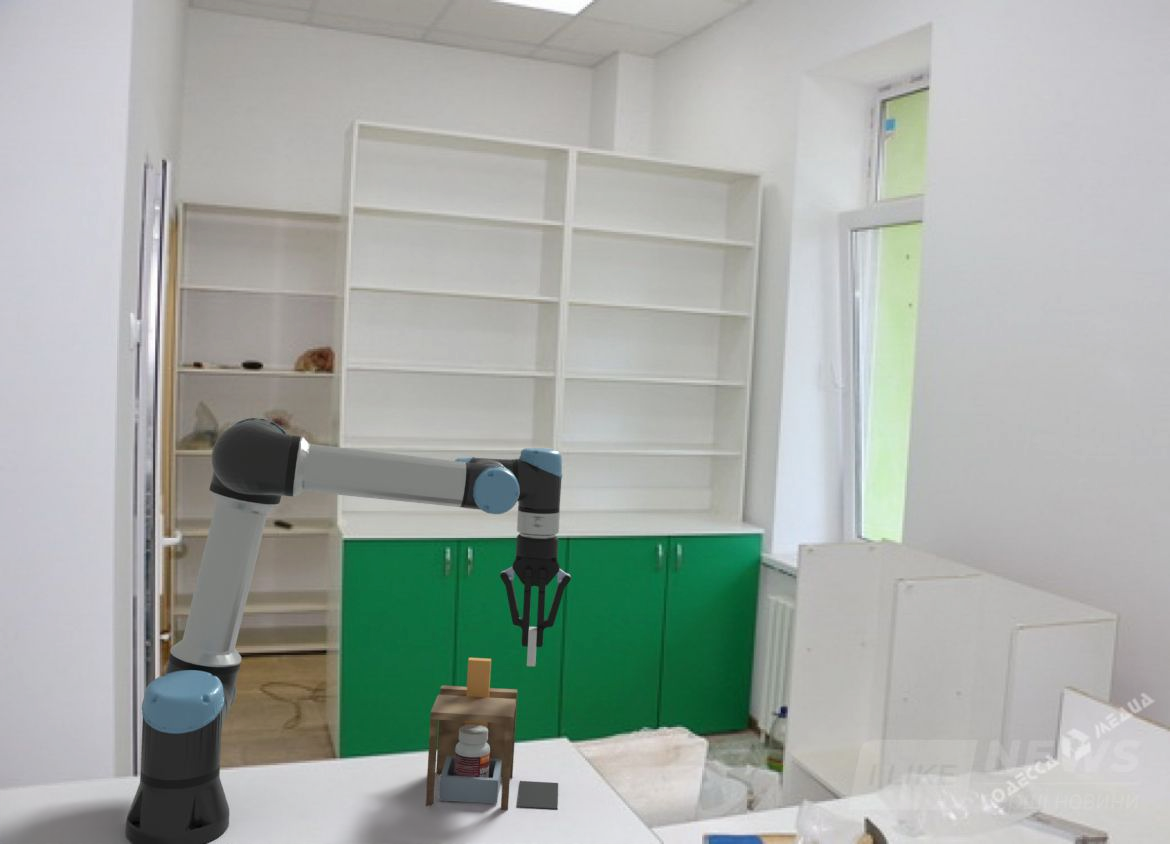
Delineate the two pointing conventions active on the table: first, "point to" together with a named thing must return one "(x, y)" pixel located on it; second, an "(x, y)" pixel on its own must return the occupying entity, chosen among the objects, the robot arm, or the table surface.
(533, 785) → the mat
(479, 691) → the tray with upright plank
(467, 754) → the pill bottle
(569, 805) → the table surface
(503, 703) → the wooden stand
